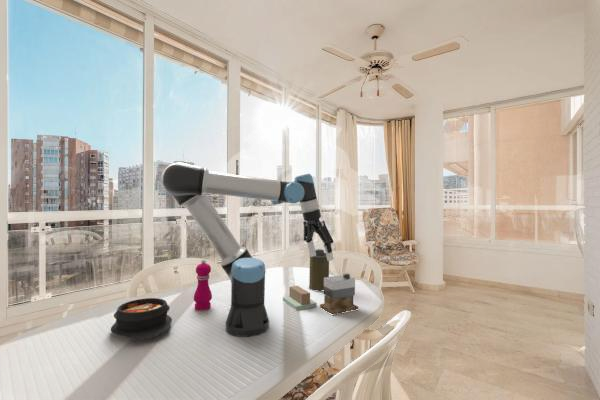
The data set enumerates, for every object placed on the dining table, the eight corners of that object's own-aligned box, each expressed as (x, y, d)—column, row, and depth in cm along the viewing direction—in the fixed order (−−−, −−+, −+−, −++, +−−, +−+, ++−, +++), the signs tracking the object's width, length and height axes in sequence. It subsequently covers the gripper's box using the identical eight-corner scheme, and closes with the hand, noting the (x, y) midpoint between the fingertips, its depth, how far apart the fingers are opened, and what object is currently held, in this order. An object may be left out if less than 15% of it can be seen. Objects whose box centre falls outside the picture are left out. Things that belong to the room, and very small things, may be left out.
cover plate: (333, 290, 119) (333, 278, 119) (323, 285, 125) (323, 274, 125) (354, 287, 124) (355, 275, 124) (344, 282, 130) (345, 272, 130)
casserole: (103, 324, 105) (103, 301, 105) (158, 312, 118) (159, 291, 118) (120, 352, 87) (120, 323, 87) (183, 333, 99) (184, 308, 99)
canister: (321, 292, 146) (322, 252, 146) (304, 288, 153) (305, 249, 153) (333, 287, 155) (333, 249, 155) (316, 284, 161) (317, 247, 161)
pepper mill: (189, 308, 121) (190, 260, 122) (202, 303, 128) (203, 257, 128) (202, 312, 118) (203, 262, 118) (215, 306, 125) (216, 259, 125)
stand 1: (295, 310, 122) (296, 295, 122) (282, 300, 134) (283, 287, 134) (316, 306, 127) (316, 292, 127) (302, 297, 139) (302, 284, 139)
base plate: (332, 299, 119) (333, 290, 119) (323, 294, 125) (323, 285, 125) (354, 295, 124) (354, 287, 124) (344, 290, 130) (344, 282, 130)
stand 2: (331, 315, 118) (332, 300, 118) (320, 307, 125) (320, 293, 125) (357, 310, 124) (358, 295, 124) (345, 303, 132) (345, 289, 132)
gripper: (334, 207, 117) (346, 258, 119) (303, 208, 139) (313, 252, 140) (319, 212, 113) (331, 265, 115) (289, 212, 135) (300, 257, 137)
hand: (321, 258), depth 128 cm, fingers open, 13 cm apart
